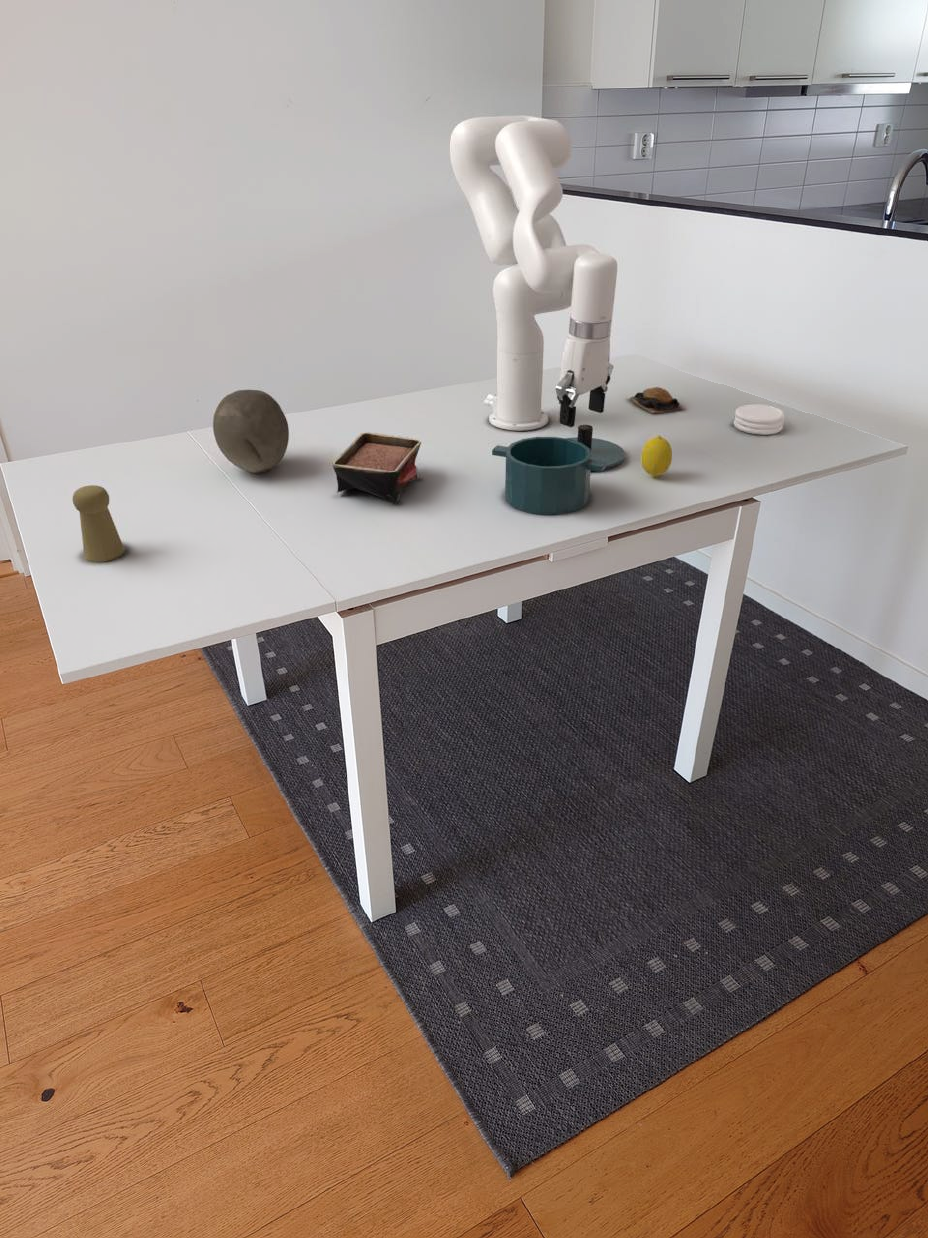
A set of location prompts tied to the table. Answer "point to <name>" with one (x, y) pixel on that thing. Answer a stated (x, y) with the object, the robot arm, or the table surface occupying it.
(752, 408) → the white round flat cylinder
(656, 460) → the lemon
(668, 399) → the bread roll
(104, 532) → the cork
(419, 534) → the table surface
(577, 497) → the pot
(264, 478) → the table surface
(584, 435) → the pot lid
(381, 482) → the square planter
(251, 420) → the grey river stone
